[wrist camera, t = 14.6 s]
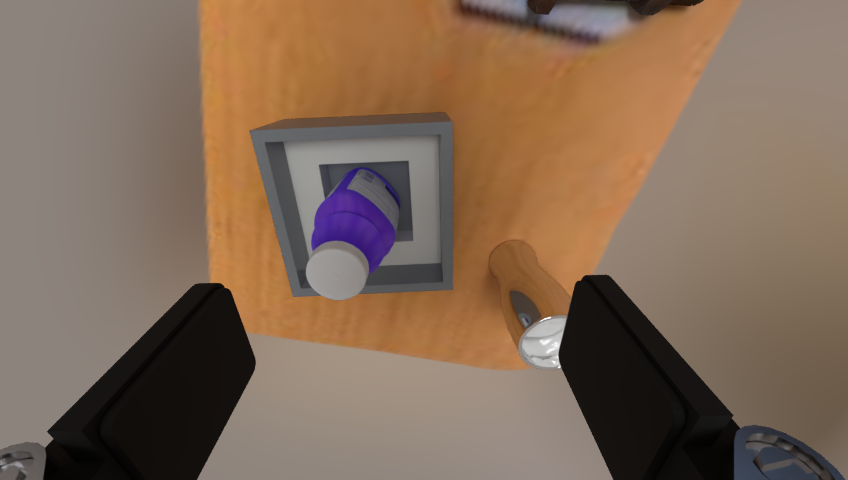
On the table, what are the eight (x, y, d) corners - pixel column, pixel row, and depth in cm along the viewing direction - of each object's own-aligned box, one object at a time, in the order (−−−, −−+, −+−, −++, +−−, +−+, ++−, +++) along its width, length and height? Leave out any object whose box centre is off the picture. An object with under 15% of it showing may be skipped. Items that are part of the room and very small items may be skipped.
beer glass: (501, 228, 41) (542, 303, 28) (549, 247, 42) (610, 328, 29) (476, 273, 44) (502, 360, 30) (521, 289, 45) (565, 380, 32)
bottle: (328, 187, 37) (265, 268, 22) (363, 153, 36) (321, 213, 20) (375, 230, 40) (349, 331, 24) (409, 200, 38) (405, 286, 23)
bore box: (283, 119, 35) (249, 130, 28) (445, 112, 35) (452, 121, 28) (314, 259, 42) (293, 296, 35) (446, 253, 42) (452, 289, 35)
